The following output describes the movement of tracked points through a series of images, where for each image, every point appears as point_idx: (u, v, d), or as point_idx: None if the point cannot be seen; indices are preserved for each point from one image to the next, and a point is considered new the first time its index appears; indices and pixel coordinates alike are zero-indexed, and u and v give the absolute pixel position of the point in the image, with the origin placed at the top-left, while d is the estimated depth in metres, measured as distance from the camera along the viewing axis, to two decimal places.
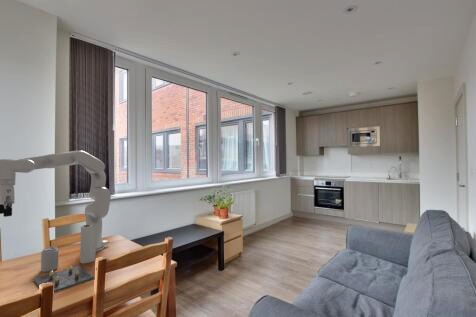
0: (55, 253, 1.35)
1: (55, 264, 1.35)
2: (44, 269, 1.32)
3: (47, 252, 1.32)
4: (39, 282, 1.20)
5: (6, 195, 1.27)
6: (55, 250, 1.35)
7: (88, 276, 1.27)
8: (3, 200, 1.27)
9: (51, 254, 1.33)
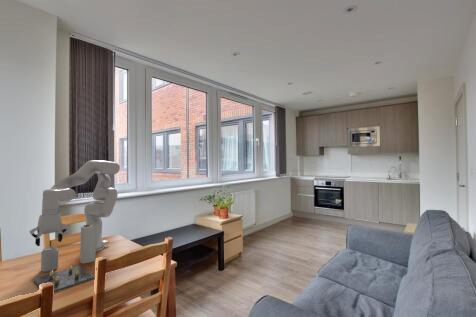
0: (55, 253, 1.35)
1: (55, 264, 1.35)
2: (44, 269, 1.32)
3: (47, 252, 1.32)
4: (39, 282, 1.20)
5: None
6: (55, 250, 1.35)
7: (88, 276, 1.27)
8: (61, 227, 1.38)
9: (51, 254, 1.33)
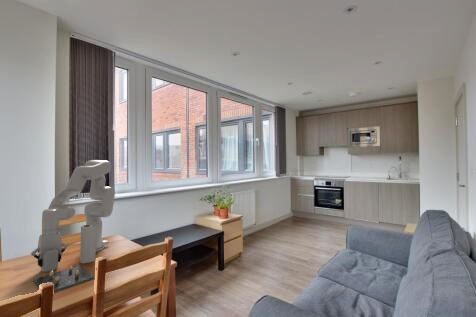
0: (55, 253, 1.35)
1: (55, 264, 1.35)
2: (44, 269, 1.32)
3: (47, 252, 1.32)
4: (39, 282, 1.20)
5: None
6: (55, 250, 1.35)
7: (88, 276, 1.27)
8: (61, 246, 1.38)
9: (51, 254, 1.33)
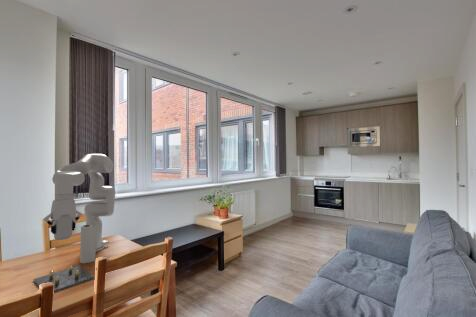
0: (69, 220, 1.25)
1: (69, 232, 1.25)
2: (57, 236, 1.22)
3: (61, 218, 1.23)
4: (39, 282, 1.20)
5: None
6: (69, 217, 1.25)
7: (88, 276, 1.27)
8: (75, 213, 1.28)
9: (65, 220, 1.23)
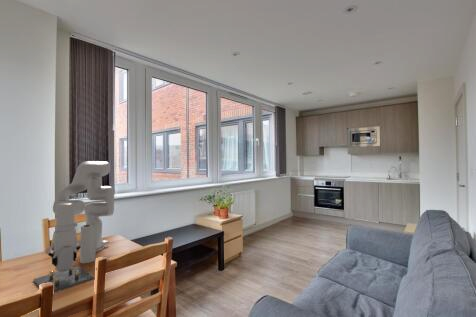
0: (70, 251, 1.24)
1: (70, 263, 1.24)
2: (59, 268, 1.21)
3: (62, 250, 1.21)
4: (39, 282, 1.20)
5: None
6: (70, 247, 1.24)
7: (88, 276, 1.27)
8: (76, 243, 1.27)
9: (66, 252, 1.22)
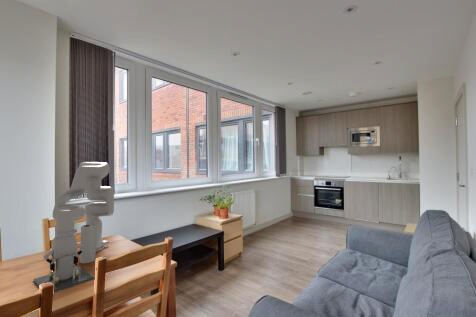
0: (70, 260, 1.24)
1: (70, 272, 1.24)
2: (59, 277, 1.21)
3: (62, 259, 1.22)
4: (39, 282, 1.20)
5: None
6: (70, 256, 1.24)
7: (88, 276, 1.27)
8: (76, 249, 1.27)
9: (66, 261, 1.22)
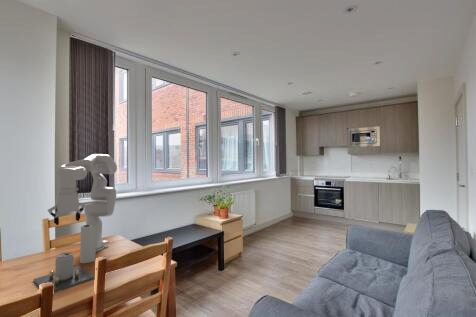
0: (70, 260, 1.24)
1: (70, 272, 1.24)
2: (59, 277, 1.21)
3: (62, 259, 1.22)
4: (39, 282, 1.20)
5: None
6: (70, 256, 1.24)
7: (88, 276, 1.27)
8: (78, 206, 1.36)
9: (66, 261, 1.22)
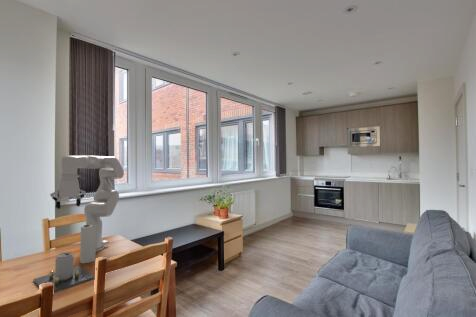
0: (70, 260, 1.24)
1: (70, 272, 1.24)
2: (59, 277, 1.21)
3: (62, 259, 1.22)
4: (39, 282, 1.20)
5: None
6: (70, 256, 1.24)
7: (88, 276, 1.27)
8: (79, 192, 1.44)
9: (66, 261, 1.22)
